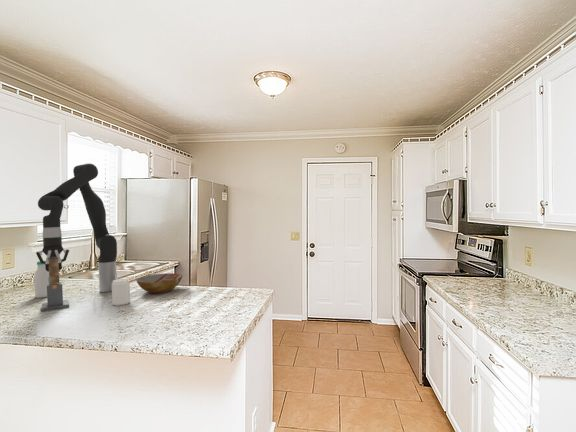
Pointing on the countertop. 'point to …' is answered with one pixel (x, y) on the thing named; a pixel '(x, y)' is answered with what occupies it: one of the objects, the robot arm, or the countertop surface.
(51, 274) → the walnut post
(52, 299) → the stand sleeve
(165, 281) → the bowl
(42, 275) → the milk bottle
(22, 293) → the countertop surface
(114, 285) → the white upright block
